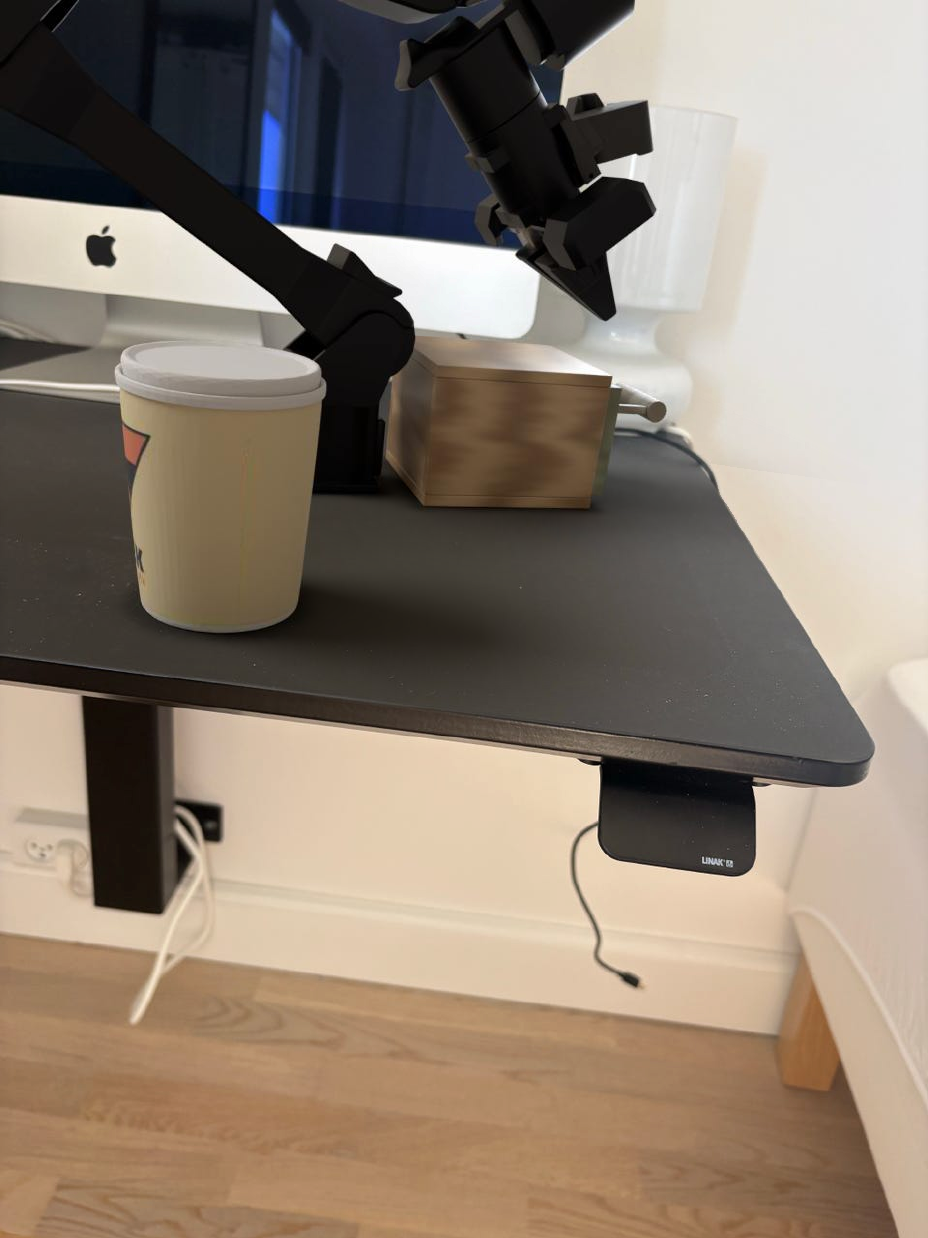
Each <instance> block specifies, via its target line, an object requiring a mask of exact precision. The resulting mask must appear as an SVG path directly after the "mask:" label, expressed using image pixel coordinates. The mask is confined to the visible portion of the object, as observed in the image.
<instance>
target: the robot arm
mask: <svg viewBox="0 0 928 1238" xmlns="http://www.w3.org/2000/svg"><path fill="white" fill-rule="evenodd" d="M79 1H80V0H0V110H2V111H3V112H6V113H8V114H10V115H11V116H13V117H15V118H18V119H19V120H21V121H23V122H25V123H26V124H29V125H31V126H33V127H34V128H37V129H38V130H41V131H42V132H44V133H47V134H48V135H50V136H52V137H54V138H56V139H57V140H60V141H62V142H64V143H65V144H68V145H69V146H72V147H73V148H75V149H77V150H78V151H79V152H81V153H82V154H83V155H84V156H86V157H87V158H88V159H90V160H91V161H93V162H94V163H95V164H97V165H98V166H99V167H101V168H102V169H103V170H105V171H106V172H107V173H109V174H110V175H111V176H113V178H115V179H116V180H118V181H119V182H121V184H123V185H125V186H126V188H129V189H130V190H131V191H133V192H134V193H135V194H137V195H138V196H139V197H141V198H142V199H143V200H145V201H146V202H147V203H148V204H150V205H151V206H153V207H154V208H155V209H157V210H158V211H159V212H161V213H162V214H163V215H165V216H166V217H167V218H169V219H170V220H171V221H173V223H175V224H177V225H178V226H179V227H181V228H182V229H183V230H185V231H186V232H187V233H188V234H190V235H191V236H193V237H194V238H195V239H196V240H198V241H199V242H200V243H202V244H203V245H204V246H206V247H207V248H209V249H210V250H211V251H212V252H214V253H215V254H217V255H218V256H219V257H220V258H222V259H223V260H225V261H226V262H227V263H229V264H230V265H231V266H233V267H234V268H235V269H236V270H238V271H239V272H241V273H242V274H243V275H244V276H246V277H247V278H249V279H250V280H251V281H253V282H254V283H255V284H257V285H258V286H259V287H260V288H262V289H263V290H265V291H266V292H267V293H268V294H270V295H271V296H272V297H273V298H275V300H276V301H277V302H279V304H280V305H281V306H282V307H283V308H284V309H285V311H287V312H288V313H289V315H291V316H292V317H293V318H294V319H295V320H296V321H297V323H299V325H300V326H302V328H303V330H301V332H300V333H299V334H298V335H296V337H294V338H293V339H292V340H291V341H290V342H289V343H288V344H286V345H285V346H284V347H283V348H282V349H281V350H282V351H287V352H290V353H294V354H298V355H301V356H304V357H306V358H309V359H311V360H312V361H314V362H316V363H317V364H318V365H319V367H320V368H321V377H322V378H323V379H324V380H325V382H326V394H325V397H324V398H323V399H322V402H321V416H320V426H319V436H318V445H317V454H316V462H315V471H314V479H313V488H312V491H337V492H338V491H341V492H342V491H345V492H378V491H380V482H379V481H378V480H377V478H379V477H380V476H381V475H382V471H383V459H384V447H385V435H386V434H385V433H386V421H385V420H384V418H383V417H382V416H381V415H380V414H379V413H380V403H381V402H380V401H381V399H382V397H383V395H384V393H385V390H386V388H387V386H388V384H389V381H390V380H391V378H392V377H393V376H394V375H396V374H398V373H399V372H400V370H401V369H402V368H403V367H404V366H405V365H406V364H407V363H408V361H409V359H410V357H411V355H412V353H413V350H414V344H415V339H416V337H415V336H416V330H415V321H414V318H413V317H412V315H411V313H410V311H409V310H408V309H407V308H406V307H405V306H404V304H402V302H400V301H399V300H397V297H400V296H401V295H403V289H402V288H400V287H398V286H396V285H395V284H392V283H391V282H389V281H388V280H385V279H383V278H381V277H380V276H377V275H375V274H374V272H373V271H372V270H371V268H369V266H368V265H367V264H366V263H365V262H364V261H363V260H362V258H360V257H359V255H357V253H356V252H355V251H353V250H351V249H349V248H347V247H345V246H343V245H341V244H339V243H337V242H335V243H333V244H332V247H331V250H330V252H329V253H328V256H327V258H326V259H324V258H323V257H321V256H320V255H317V254H315V253H313V252H311V251H310V250H308V249H306V248H304V247H303V246H301V245H300V244H299V243H297V242H296V241H295V240H294V239H293V238H291V237H290V236H289V235H288V234H286V233H285V232H283V230H281V229H280V228H279V227H277V226H276V225H275V224H273V222H271V221H270V220H268V218H266V217H264V216H263V215H262V214H261V213H259V212H258V211H257V210H256V209H254V208H253V207H252V206H251V205H250V204H248V203H247V202H246V201H244V200H243V199H242V198H241V197H240V196H238V195H237V194H235V193H234V192H233V191H232V190H231V189H230V188H228V187H227V186H225V185H224V184H223V183H222V182H221V181H219V180H218V179H217V178H216V177H214V176H213V175H212V174H211V173H209V172H208V171H207V170H205V169H204V168H203V167H202V166H200V165H199V164H198V163H196V162H195V161H194V160H193V159H192V158H190V157H189V156H188V155H186V154H185V153H184V152H183V151H181V150H180V149H179V148H178V147H176V146H175V145H174V144H173V143H172V142H170V141H169V140H168V139H166V137H164V136H162V135H161V134H160V133H159V132H157V131H156V130H155V129H154V128H152V127H151V126H150V125H149V124H148V123H146V122H145V121H143V120H142V119H141V118H140V117H138V115H136V114H135V113H134V112H133V111H131V110H130V109H128V108H127V106H125V105H124V104H122V103H121V102H120V101H119V100H117V99H116V98H115V97H113V96H112V95H111V94H110V93H109V92H108V91H107V90H106V89H105V88H104V87H103V86H102V85H101V83H100V82H98V80H97V79H96V78H95V77H94V76H93V75H92V74H91V73H90V72H89V71H88V69H87V68H85V66H84V65H83V64H82V63H81V62H80V60H78V59H77V58H76V57H75V55H74V54H73V52H71V51H70V49H68V48H67V47H66V45H65V44H64V43H63V42H62V41H61V40H60V39H59V38H58V37H57V35H55V34H54V33H53V32H55V30H57V28H58V27H59V26H60V25H61V24H62V22H64V20H65V19H66V18H67V17H68V15H69V14H70V13H71V11H72V10H73V9H74V8H75V7H76V5H77V4H78V3H79ZM337 1H338V2H340V3H343V4H345V5H347V6H350V7H352V8H354V9H357V10H360V11H363V12H367V13H369V14H372V15H375V16H378V17H382V18H385V19H388V20H390V21H394V22H397V23H401V24H405V25H407V24H420V23H424V22H425V21H428V20H430V19H431V20H432V19H433V18H436V17H438V16H441V15H443V14H446V13H449V12H451V11H453V10H455V9H468V8H471V7H473V6H476V5H478V4H481V3H483V2H487V1H488V0H337ZM500 2H501V3H500V4H499V5H498V6H496V7H495V8H493V9H492V10H491V11H490V12H488V14H486V15H485V16H483V17H482V18H481V19H479V20H478V21H477V22H473V21H471V19H469V18H467V17H466V16H463V15H456V17H454V18H453V19H451V20H450V21H449V22H448V23H446V24H445V25H444V26H442V27H441V28H440V29H439V30H438V31H436V32H435V33H434V34H432V35H431V36H430V37H429V38H427V39H426V40H424V41H419V40H417V39H414V38H412V37H410V38H407V39H404V40H402V41H400V43H399V45H398V46H399V47H398V48H399V63H398V68H397V72H396V76H395V78H394V79H395V80H394V88H395V89H396V90H397V91H398V92H404V91H411V90H415V89H417V88H418V87H420V86H421V85H422V84H423V83H425V82H426V81H427V80H429V82H430V83H431V85H432V87H433V89H434V91H435V92H436V94H437V96H438V97H439V99H440V101H441V104H442V105H443V106H444V108H445V110H446V112H447V114H448V116H449V117H450V119H451V121H452V122H453V124H454V126H455V128H456V129H457V131H458V133H459V135H460V136H461V139H462V140H463V142H464V144H465V145H466V148H467V149H468V151H469V152H468V153H467V154H466V155H464V156H463V158H464V160H465V161H466V163H467V165H468V166H469V168H470V170H471V171H473V172H480V173H481V174H482V175H483V177H484V179H485V181H486V183H487V185H488V186H489V188H490V190H491V191H492V193H490V194H489V195H488V196H487V197H486V198H484V199H483V200H481V201H480V202H479V203H478V204H477V205H476V210H475V216H474V222H473V224H474V225H475V226H476V228H477V230H478V233H480V235H481V237H482V239H483V240H484V242H485V244H486V245H489V246H493V247H496V248H498V247H499V246H501V244H503V243H504V239H503V234H502V232H504V231H505V230H506V229H508V231H509V232H511V233H515V234H516V236H517V238H518V239H519V242H520V243H521V245H522V247H520V248H519V249H518V250H517V251H516V252H515V253H514V256H515V258H517V259H518V260H519V261H521V262H522V263H524V264H526V265H527V266H528V267H529V268H531V269H532V270H534V271H535V272H537V274H539V275H541V276H542V277H543V278H544V279H546V280H547V281H549V282H550V283H551V284H553V285H554V286H556V287H557V288H558V289H559V290H561V291H562V292H563V293H565V294H566V295H567V296H569V297H570V299H573V300H574V301H575V302H576V303H578V304H579V305H580V306H582V307H583V308H585V309H586V311H588V312H590V313H591V314H592V315H593V316H595V317H596V318H597V319H599V320H600V321H603V322H608V321H609V320H611V319H612V318H613V317H615V316H616V315H617V305H616V301H615V295H614V289H613V284H612V279H611V273H610V272H611V271H610V268H609V262H608V253H607V252H609V251H610V250H611V249H613V248H614V247H615V246H616V245H617V244H619V243H620V242H622V240H624V239H625V238H627V237H628V236H629V235H631V234H632V233H633V232H634V231H636V230H638V229H639V228H640V227H641V226H643V224H645V223H646V222H648V221H649V220H650V219H652V218H653V217H655V215H656V212H657V207H656V205H655V202H654V200H653V199H652V196H651V194H650V193H649V190H648V188H647V186H646V184H645V182H643V181H639V180H634V179H630V178H626V177H616V176H615V177H614V176H605V175H603V176H601V175H602V174H603V173H602V171H601V170H600V167H599V165H601V164H606V163H608V162H612V161H616V160H619V159H624V158H627V157H629V156H633V155H636V156H639V157H640V156H645V155H648V154H650V153H651V154H652V153H653V151H654V142H653V133H652V132H653V131H652V123H651V115H650V105H649V100H648V99H636V100H623V101H618V102H610V103H607V104H606V105H605V103H604V102H603V101H602V99H601V97H600V96H599V94H598V93H597V92H586V93H581V94H578V95H574V96H571V97H568V98H567V101H566V105H564V104H560V103H559V102H550V103H549V102H548V103H547V101H546V98H545V97H544V95H543V93H542V90H541V89H540V87H539V85H538V83H537V81H536V79H535V77H534V75H533V73H532V71H531V69H530V67H529V65H528V63H529V64H530V65H531V66H533V67H535V68H538V67H541V65H542V64H543V65H545V66H546V67H547V68H549V69H550V70H552V71H553V72H561V71H563V70H564V69H565V68H567V66H569V65H570V64H572V63H573V62H574V61H575V60H577V59H578V58H579V57H581V56H582V55H583V54H584V53H586V52H587V51H589V49H591V48H592V47H593V46H595V45H596V44H597V43H598V42H599V41H601V40H602V39H604V38H605V37H606V36H608V35H609V34H610V33H611V32H612V31H614V30H615V29H617V28H619V26H621V25H622V24H623V23H624V22H626V21H627V20H628V19H629V18H631V16H633V13H634V11H635V6H636V0H500ZM527 62H528V63H527ZM599 176H600V177H599ZM597 178H598V179H597ZM595 179H597V180H595ZM594 180H595V181H594ZM593 181H594V182H593ZM590 183H591V184H590ZM589 184H590V185H589ZM584 185H589V186H588V187H586V188H585V189H583V190H582V191H581V188H582V187H583V186H584Z"/></svg>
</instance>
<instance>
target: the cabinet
mask: <svg viewBox="0 0 928 1238" xmlns="http://www.w3.org/2000/svg"><path fill="white" fill-rule="evenodd" d="M415 337H416V339H415V344H414V350H413V353H412V355H411V357H410V359H409V361H408V363H407V364H406V365H405V366H404V367H403V368H402V369H401V370H400V372H399V373H398V374H396V375H394V376H392V377H391V378H392V380H391V389H390V401H389V402H390V403H389V413H388V414H389V415H388V426H387V437H386V438H387V439H386V450H385V460H386V461H387V462H388V463H389V465H390V466H391V467H392V468H393V469H394V471H395V472H396V474H397V475H398V476H399V477H400V479H401V480H402V481H403V482H404V483H405V485H406V486H407V487H408V488H409V490H410V491H411V492H412V494H413V495H414V496H415V498H416V499H417V500H418V501H419V502H420V504H421V505H422V506H423V507H454V508H455V507H461V508H462V507H463V508H464V507H465V508H466V507H467V508H521V509H522V508H525V509H526V508H528V509H529V508H530V509H531V508H532V509H533V508H534V509H535V508H536V509H590V506H591V501H592V495H593V494H592V490H593V484H594V478H595V473H596V467H597V461H598V456H599V450H600V444H601V439H602V433H603V427H604V422H605V416H606V410H607V405H608V399H609V393H610V387H611V383H612V382H613V375H611V374H609V373H607V372H605V371H603V370H601V369H599V368H597V367H595V366H593V365H591V364H589V363H587V362H585V361H583V360H580V359H579V358H577V357H575V356H573V355H570V353H566V352H565V351H563V350H561V349H559V348H556V347H555V346H553V345H549V344H537V343H523V342H509V341H495V340H481V339H470V338H469V339H468V338H453V337H442V336H441V337H439V336H426V335H415Z"/></svg>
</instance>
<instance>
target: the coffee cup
mask: <svg viewBox="0 0 928 1238" xmlns="http://www.w3.org/2000/svg"><path fill="white" fill-rule="evenodd" d="M282 350H283V349H276V348H272V347H266V346H258V345H251V344H244V343H235V342H225V341H211V340H210V341H209V340H164V341H163V340H162V341H160V340H159V341H152V342H144V343H139V344H135V345H132V346H128V347H127V348H124V350H122V353H121V354H120V362H119V363H118V364H117V365H116V366H115V369H114V379H115V383H116V385H117V386H118V387H119V403H120V415H121V425H122V435H123V436H122V437H123V445H124V446H123V447H124V457H125V459H124V460H125V467H126V468H125V469H126V478H127V479H126V480H127V487H128V499H129V507H130V517H131V527H132V537H133V544H134V545H133V546H134V555H135V565H136V572H137V580H138V588H139V595H140V596H139V597H140V602H141V604H142V607H143V608H144V610H145V611H146V612H147V613H148V614H149V615H150V616H151V617H152V618H154V619H156V620H158V621H159V622H162V623H164V624H166V625H169V626H171V627H175V628H179V629H182V630H189V631H193V632H202V633H203V632H204V633H214V634H215V633H216V634H220V633H221V634H226V633H227V634H228V633H242V632H250V631H255V630H256V631H257V630H260V629H265V628H268V627H270V626H274V625H276V624H278V623H281V622H282V621H285V620H286V619H288V618H289V617H290V616H291V615H292V614H293V613H294V612H295V610H296V608H297V605H298V603H299V597H300V589H301V583H302V579H303V578H302V576H303V569H304V562H305V560H304V559H305V552H306V546H307V545H306V544H307V537H308V528H309V520H310V514H311V513H310V511H311V506H312V505H311V504H312V495H313V490H312V488H313V479H314V471H315V462H316V454H317V445H318V436H319V426H320V416H321V402H322V399H323V398H324V397H325V394H326V382H325V380H324V379H323V378H322V377H321V368H320V367H319V365H318V364H317V363H316V362H314V361H312V360H311V359H309V358H306V357H304V356H301V355H298V354H294V353H290V352H287V351H282Z"/></svg>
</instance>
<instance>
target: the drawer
mask: <svg viewBox="0 0 928 1238" xmlns="http://www.w3.org/2000/svg"><path fill="white" fill-rule="evenodd" d="M667 412H668V411H667V406H666V404H665V403H664V402H663V401H661V400H659V399H657V398H655V397H653V396H651V395H649V394H647V393H645V392H643V391H641V390H639V389H637V388H635V387H633V386H631V385H629V384H627V383H625V382H617V383H611V387H610V393H609V399H608V405H607V410H606V416H605V422H604V427H603V433H602V439H601V444H600V450H599V456H598V461H597V467H596V473H595V478H594V484H593V490H592V495H604V491H605V485H606V480H607V474H608V469H609V464H610V459H611V454H612V447H613V441H614V435H615V430H616V424H617V419H618V414H622V415H637V416H640V417H641V418H644V419H645V420H647V421H649V422H651V423H659V422H662V421H663V420H664V419H665V417H666V416H667Z"/></svg>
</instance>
